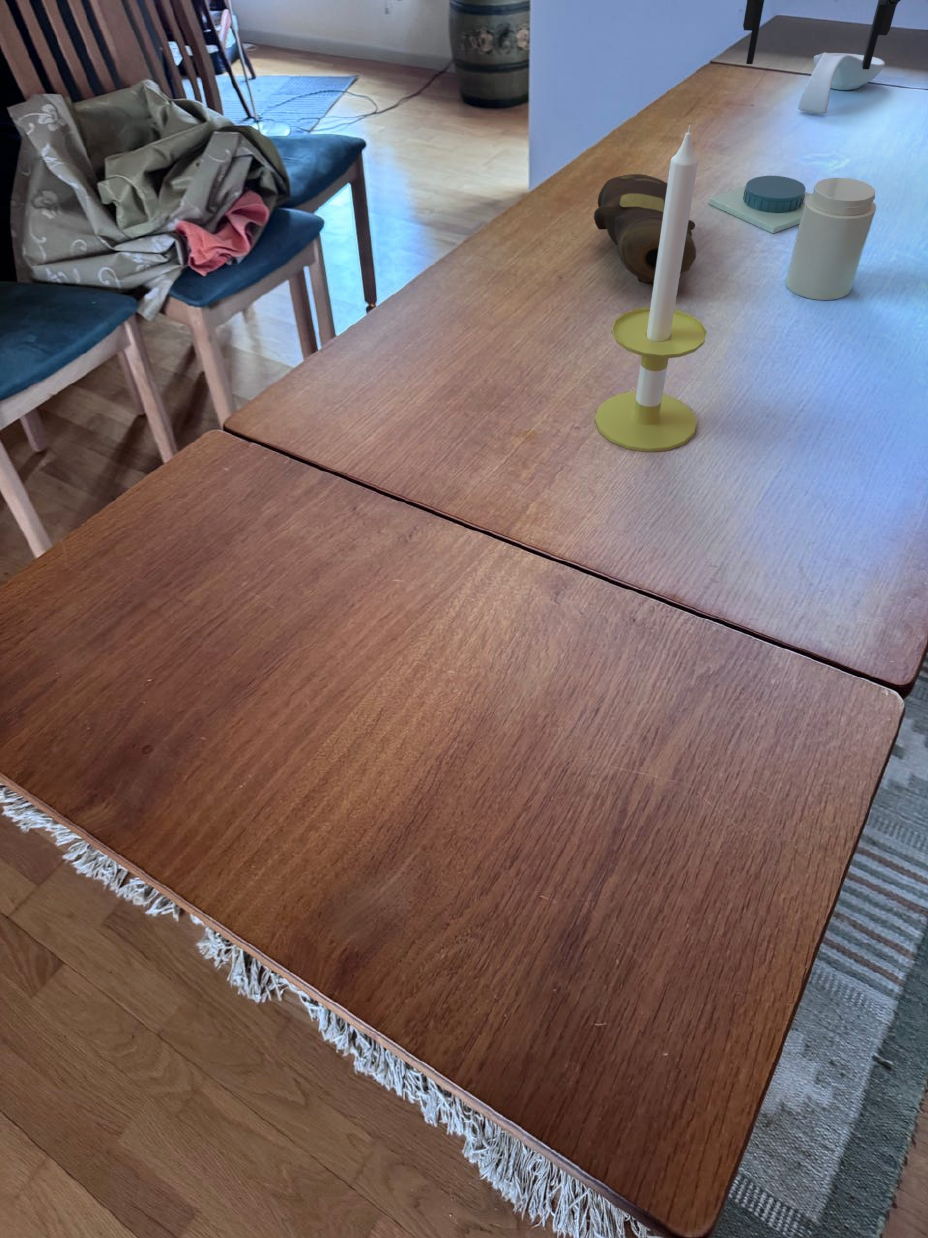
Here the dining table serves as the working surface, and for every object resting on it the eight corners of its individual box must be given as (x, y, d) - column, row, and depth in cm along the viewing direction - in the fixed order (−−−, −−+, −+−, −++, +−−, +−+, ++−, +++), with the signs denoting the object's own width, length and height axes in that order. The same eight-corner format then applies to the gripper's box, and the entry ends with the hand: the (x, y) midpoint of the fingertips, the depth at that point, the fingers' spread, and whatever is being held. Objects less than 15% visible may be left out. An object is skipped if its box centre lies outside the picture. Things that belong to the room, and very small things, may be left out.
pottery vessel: (597, 302, 103) (603, 238, 98) (588, 228, 117) (593, 168, 112) (704, 302, 103) (716, 237, 97) (683, 227, 117) (692, 167, 111)
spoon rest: (819, 70, 160) (830, 24, 154) (885, 79, 155) (899, 32, 150) (777, 109, 146) (787, 60, 141) (848, 120, 142) (861, 70, 137)
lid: (731, 201, 120) (734, 187, 119) (764, 184, 124) (767, 170, 122) (781, 218, 116) (784, 203, 115) (814, 200, 120) (817, 186, 118)
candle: (573, 419, 87) (596, 124, 68) (641, 382, 92) (682, 94, 72) (649, 465, 82) (698, 159, 62) (718, 423, 86) (784, 124, 67)
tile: (835, 210, 119) (837, 204, 118) (772, 233, 115) (774, 227, 114) (769, 182, 126) (770, 176, 125) (707, 203, 122) (709, 197, 121)
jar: (863, 295, 103) (895, 197, 95) (804, 304, 102) (830, 206, 94) (830, 266, 108) (857, 171, 100) (773, 274, 107) (796, 179, 99)
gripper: (983, -175, 92) (914, 58, 107) (738, -172, 97) (706, 50, 113) (990, -166, 87) (917, 77, 102) (732, -163, 92) (700, 67, 108)
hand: (806, 63), depth 108 cm, fingers open, 13 cm apart
